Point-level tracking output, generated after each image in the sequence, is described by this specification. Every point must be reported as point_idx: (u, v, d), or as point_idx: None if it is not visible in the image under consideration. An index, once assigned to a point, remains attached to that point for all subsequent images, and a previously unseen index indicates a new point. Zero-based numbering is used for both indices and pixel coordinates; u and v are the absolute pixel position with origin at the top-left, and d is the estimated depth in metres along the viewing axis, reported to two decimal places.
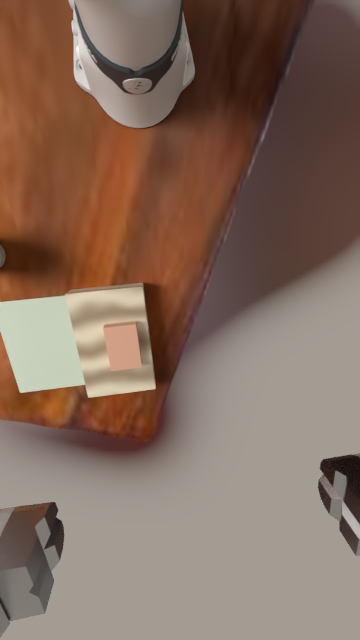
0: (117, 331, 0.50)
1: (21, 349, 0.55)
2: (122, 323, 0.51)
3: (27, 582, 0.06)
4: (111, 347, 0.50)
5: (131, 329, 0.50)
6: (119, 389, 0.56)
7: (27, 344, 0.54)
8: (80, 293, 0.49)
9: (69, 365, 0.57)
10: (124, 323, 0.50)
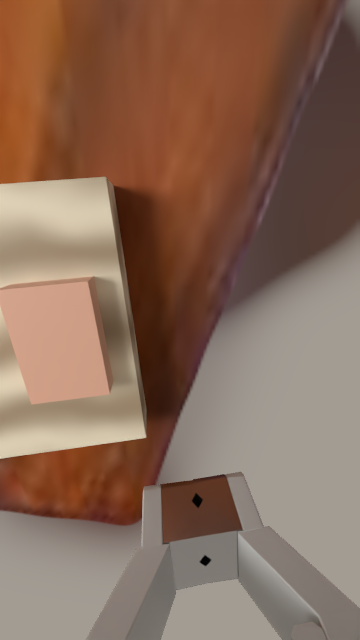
0: (37, 301, 0.18)
1: None
2: (55, 281, 0.19)
3: (200, 552, 0.06)
4: (25, 344, 0.19)
5: (76, 295, 0.18)
6: (62, 440, 0.24)
7: None
8: None
9: None
10: (60, 281, 0.19)
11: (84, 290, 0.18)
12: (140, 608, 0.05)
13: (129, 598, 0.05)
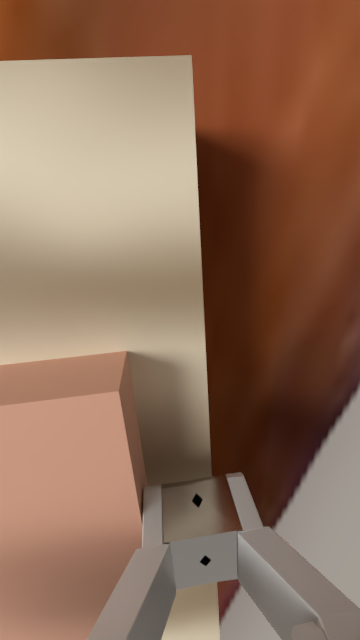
0: None
1: None
2: (20, 374, 0.07)
3: (200, 551, 0.06)
4: None
5: (82, 432, 0.06)
6: None
7: None
8: None
9: None
10: (33, 381, 0.06)
11: (107, 417, 0.06)
12: (141, 608, 0.05)
13: (129, 598, 0.05)
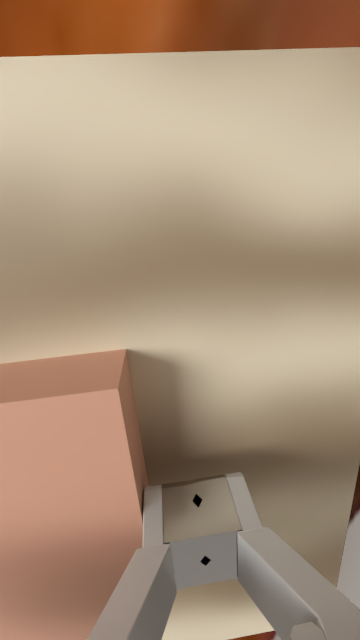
0: None
1: None
2: (19, 372, 0.07)
3: (201, 551, 0.06)
4: None
5: (81, 430, 0.06)
6: (178, 636, 0.12)
7: None
8: None
9: None
10: (33, 379, 0.06)
11: (106, 414, 0.06)
12: (141, 608, 0.05)
13: (130, 598, 0.05)
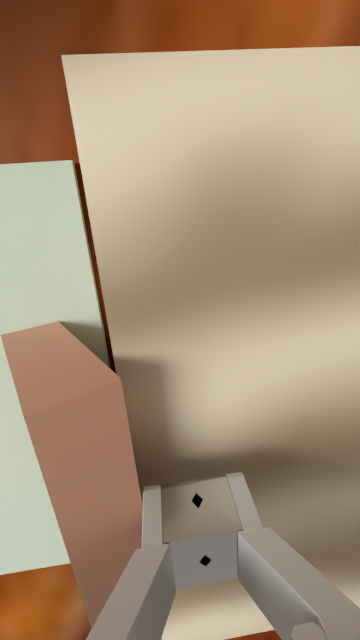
0: None
1: None
2: (61, 353, 0.08)
3: (200, 551, 0.06)
4: None
5: None
6: None
7: None
8: (194, 62, 0.06)
9: None
10: (49, 364, 0.07)
11: None
12: (140, 608, 0.05)
13: (129, 598, 0.05)
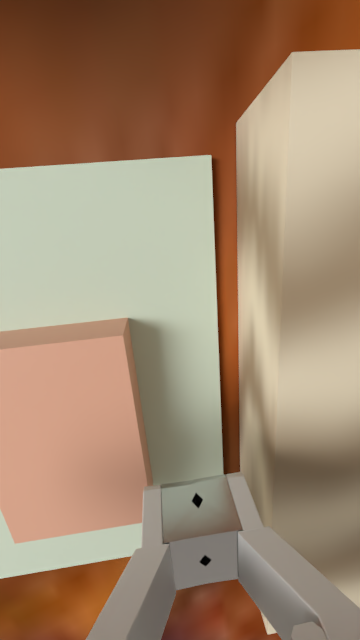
0: None
1: None
2: (27, 339, 0.10)
3: (200, 552, 0.06)
4: None
5: None
6: None
7: None
8: None
9: None
10: (19, 336, 0.10)
11: None
12: (140, 608, 0.05)
13: (129, 598, 0.05)
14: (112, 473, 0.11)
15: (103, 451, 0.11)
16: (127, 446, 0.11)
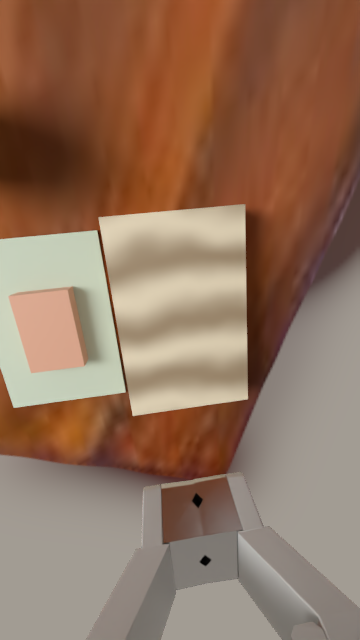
0: None
1: (15, 330, 0.31)
2: (36, 292, 0.29)
3: (200, 551, 0.06)
4: None
5: None
6: (187, 400, 0.32)
7: None
8: (128, 216, 0.25)
9: (98, 359, 0.33)
10: (33, 291, 0.29)
11: None
12: (140, 608, 0.05)
13: (129, 598, 0.05)
14: (66, 343, 0.30)
15: (63, 333, 0.30)
16: (71, 331, 0.30)
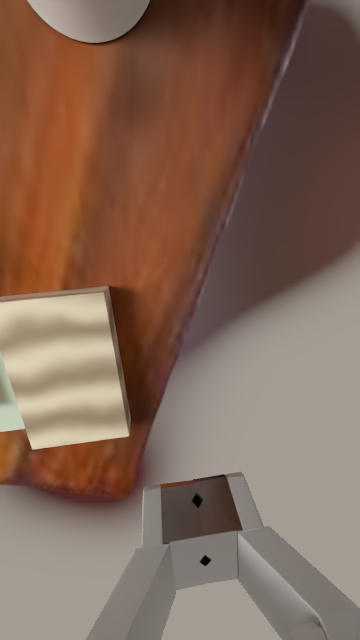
0: None
1: None
2: None
3: (200, 551, 0.06)
4: None
5: None
6: (76, 437, 0.39)
7: None
8: (9, 302, 0.32)
9: (7, 402, 0.40)
10: None
11: None
12: (140, 608, 0.05)
13: (129, 598, 0.05)
14: None
15: None
16: None
